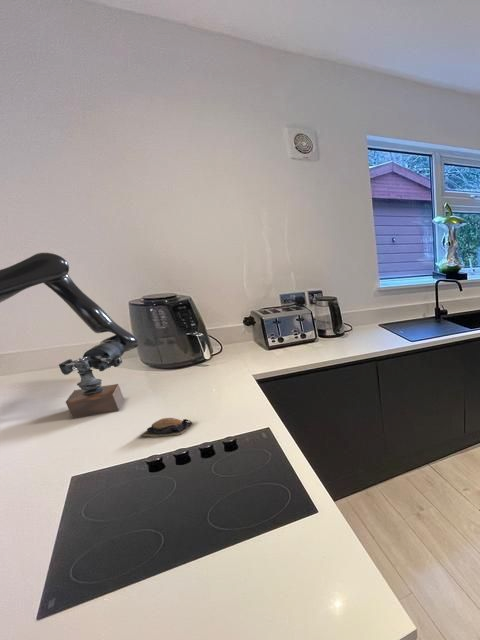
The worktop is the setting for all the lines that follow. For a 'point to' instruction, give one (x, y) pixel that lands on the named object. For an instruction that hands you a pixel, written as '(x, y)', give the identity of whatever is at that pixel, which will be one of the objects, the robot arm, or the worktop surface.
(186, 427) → the turtle figurine
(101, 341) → the robot arm
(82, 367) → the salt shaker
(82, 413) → the brown rectangular block
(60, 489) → the worktop surface
